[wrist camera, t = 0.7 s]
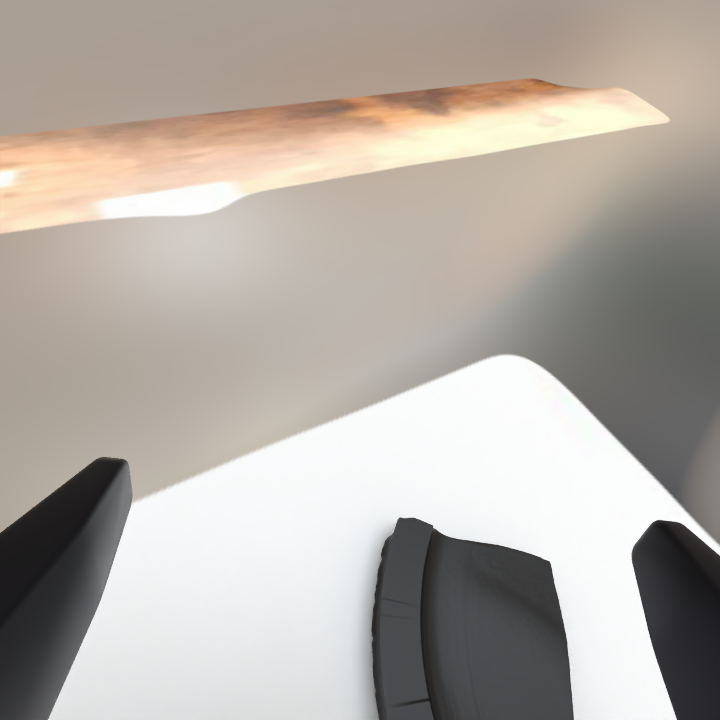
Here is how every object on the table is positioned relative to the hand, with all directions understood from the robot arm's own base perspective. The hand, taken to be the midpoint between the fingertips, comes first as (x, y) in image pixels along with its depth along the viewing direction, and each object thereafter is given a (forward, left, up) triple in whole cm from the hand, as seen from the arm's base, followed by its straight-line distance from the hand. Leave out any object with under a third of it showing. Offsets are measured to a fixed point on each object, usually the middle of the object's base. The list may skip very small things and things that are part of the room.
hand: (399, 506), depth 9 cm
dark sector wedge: (+1, -6, -16) cm, 17 cm away
